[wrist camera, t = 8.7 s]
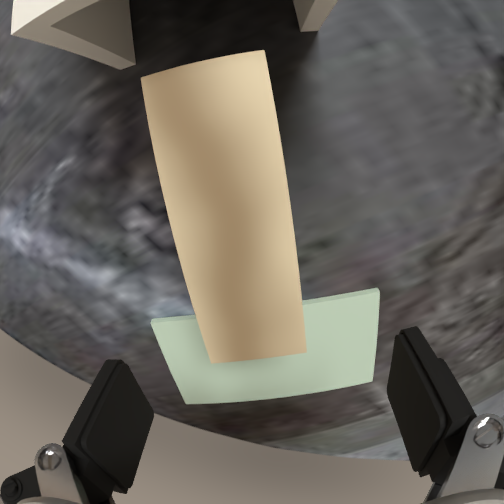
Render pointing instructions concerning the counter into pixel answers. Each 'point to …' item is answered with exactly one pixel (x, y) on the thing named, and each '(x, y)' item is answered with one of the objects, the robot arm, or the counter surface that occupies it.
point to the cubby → (110, 26)
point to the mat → (283, 367)
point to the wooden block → (229, 203)
